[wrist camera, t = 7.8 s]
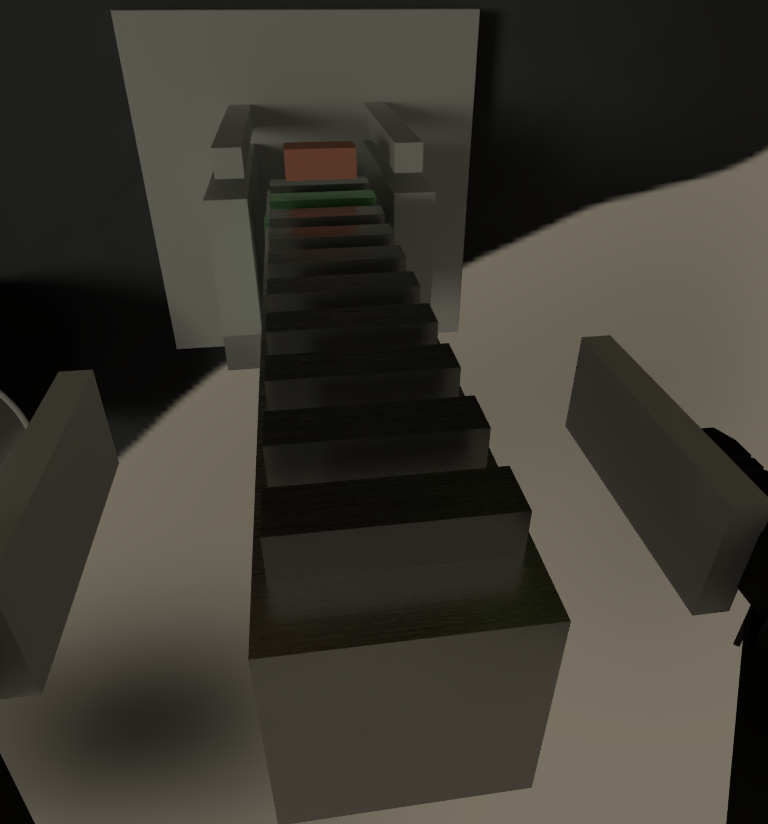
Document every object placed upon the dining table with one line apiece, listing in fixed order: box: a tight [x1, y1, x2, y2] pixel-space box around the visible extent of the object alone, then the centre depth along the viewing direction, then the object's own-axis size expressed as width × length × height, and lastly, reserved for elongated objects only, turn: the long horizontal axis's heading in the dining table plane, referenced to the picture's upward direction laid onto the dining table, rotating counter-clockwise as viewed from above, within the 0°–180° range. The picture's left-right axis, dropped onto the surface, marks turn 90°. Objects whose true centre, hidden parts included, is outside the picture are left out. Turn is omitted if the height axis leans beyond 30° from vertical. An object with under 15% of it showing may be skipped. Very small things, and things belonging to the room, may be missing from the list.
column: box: [248, 176, 571, 824], centre depth 18 cm, size 5×4×22 cm
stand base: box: [111, 8, 480, 370], centre depth 29 cm, size 16×16×13 cm
